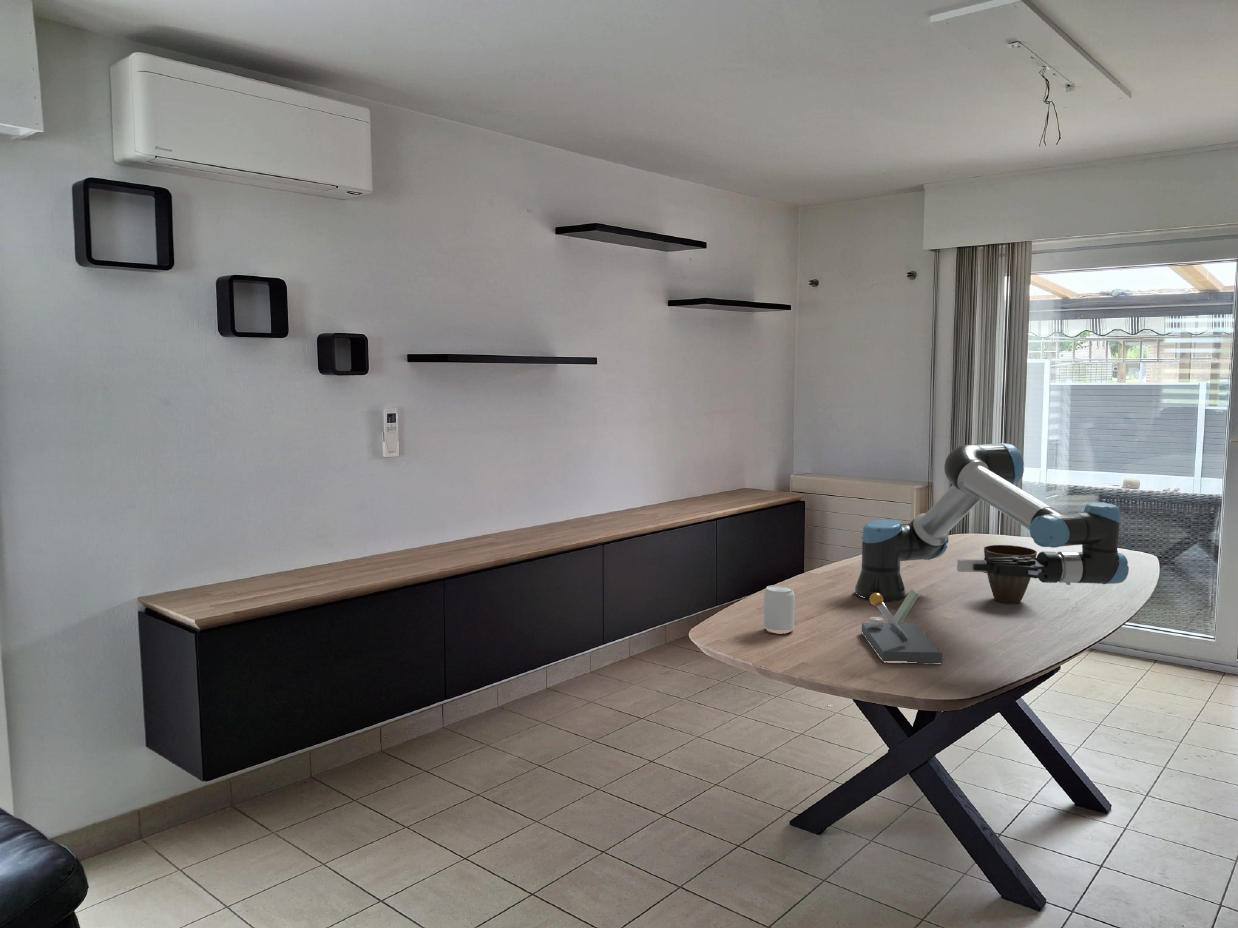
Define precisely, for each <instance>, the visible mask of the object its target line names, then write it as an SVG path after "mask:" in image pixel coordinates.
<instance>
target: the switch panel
mask: <svg viewBox="0 0 1238 928" xmlns="http://www.w3.org/2000/svg"><path fill="white" fill-rule="evenodd" d="M900 627H901V629H902V630H903V632H904V633H905V635H906V636H907V637H908V640H907V641H906V642H904V643H902V642H901V640H900V639H899V637H898V636H897V634H896V633H895V632H894V630H893V629H892V627H891V626H890V624H889V623H888V622H886V623H885V622H883V627H871V626H869V622H861V633H862V632H863V634H864V635H865V636H866V638H867V640H868V641H869V642H870V643H871V645H872V646H873V648H874V649H875V650H876V652H877V653H878V654H879V656H880V657H881V658H882V660H883V661H907V662H917V663H942V664H943V652H942V650H940V649H939V648H938V646H936V644H935V643H934V642H933V641H932V640H931V639H930V638H929V637H928V636H927V635H926V634H925V633H924V632H923V630H922V629H920V628H919V626H917V624H916V623H903V622H902V623H901V625H900ZM867 640H866V641H867Z"/></svg>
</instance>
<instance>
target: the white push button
mask: <svg viewBox="0 0 1238 928" xmlns="http://www.w3.org/2000/svg"><path fill="white" fill-rule="evenodd" d="M868 623H869V626H871V627H883V623H884V619H883V618H882V617H880V616H871V617H868Z"/></svg>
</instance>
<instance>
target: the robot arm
mask: <svg viewBox="0 0 1238 928" xmlns="http://www.w3.org/2000/svg"><path fill="white" fill-rule="evenodd" d="M943 466H944V474H945V477H946V478H947V479H946V480H948V482H949V483H950V484H951V486H950V487H949V488H948V489H947V490H946V492H944V493H943V495H941V497H940V498H939V499H938V500H937V501H936V502H935V503H934V504H933V505H932V506H931V508H929V509H928V510H927V512H925V513H922V512H921V513H919V514H917V515H916V516H915V517H914V518H913V519H912V520H911V521H910V522H907V523H902V522H901V521H900V520H895V519H878V520H873V521H870V522H868V523H866V524H864V527H862V536H861V540H862V543H861V569H860V572H859V576H858V579H857V582H856V584H855V587H854V588H855V589H854V594H855V593H857V595H860V596H863V597H865V598H870V596H871V595H872V594H873V593H879V594H881V595H882V597H883V600H885V601H884V602H893V601H894V600H896V601H901V600H903V599H905V598H906V588H905V585H904V581H903V579H902V575H901V562H906V561H907V562H909V561H919V560H920V561H921V560H926V561H927V560H928V561H930V560H933V559H936V558H939V557H941V556H942V555H944V554H945V552H946V551H947V549H948V544H949V539H950V538H949V532H950V531H951V530H952V529H953V528H954V527H955V526H956V525H957V524H958V523H959V522H960V521H961V520H962V519H963V518H964V517H965V516H966V515H967V514H968V513H969V512H970V511H972V510H973V508H975V506H976V505H977V504H979V502H980V501H983V502H984V503H986V504H988V505H989V506H991V507H993V508H994V509H996V510H997V511H998V512H1000V513H1001V514H1003V515H1005V516H1006V517H1008V518H1010V519H1011V520H1013V521H1014V522H1016V523H1017V524H1019V525H1020V526H1022V527H1024V528H1025V529H1026V530H1028V531H1029V534H1030V537H1031V538H1032V540H1033V543H1035V544H1036V545H1038V546H1039V547H1042V548H1051V549H1052V548H1053V549H1054V548H1056V549H1057V548H1061V547H1071V546H1081V549H1082V551H1080V552H1079V551H1040V552H1039V553H1037V555H1036V559H1035V560H1033V559H1031V558H1030V557H1023V558H1019V556H1012V557H992V558H985V557H984V558H983V559H957V560H956V561H957V565H956V571H957V572H960V573H963V572H964V573H984V574H987V572H988V573H993V575H1006V576H1020V577H1030V578H1031V579H1038V581H1040V582H1041V583H1047V584H1056V583H1063V584H1064V583H1066V585H1067V586H1071V584H1073V583H1074V584H1097V585H1098V584H1100V585H1108V584H1109V585H1112V584H1113V585H1114V584H1121V583H1123V582H1124V581H1126V579H1127V578H1128V575H1129V572H1130V571H1129V570H1130V569H1129V566H1128V565H1129V562H1128V559H1127V557H1126V556H1125V555H1124V554H1123V553H1121V552H1119V551H1118V547H1119V533H1120V525H1121V514H1120V513H1121V509H1120V507H1118V506H1117V505H1115V504H1113V503H1112V504H1111V503H1106V502H1089V503H1087V504H1086V505H1085V506H1084V510H1083V512H1080V513H1077V512H1076V513H1063V512H1060V511H1058V510H1057V509H1055V508H1053V507H1051V506H1050V505H1048V504H1047V503H1045V502H1043V501H1042V500H1040V499H1038V498H1036V497H1035V496H1033V495H1031V494H1030V493H1028V492H1026V491H1024V490H1023V488H1022V489H1021V488H1019V486H1016V484H1017V483H1019V482H1020V481H1021V479H1022V478H1023V476H1024V472H1025V467H1024V466H1025V462H1024V457H1023V455H1022V454H1021V451H1020V450H1019V449H1018V448H1017V447H1016V446H1015V445H1013V444H1010V443H1003V442H997V443H977V444H976V443H974V444H963V445H960V446H957V447H956V448H953V450H951V451H950V453H949V454H947V457H946V459H945V461H944V465H943ZM857 595H856V596H857ZM865 598H864V599H865ZM900 599H901V600H900ZM892 600H893V601H892Z"/></svg>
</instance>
